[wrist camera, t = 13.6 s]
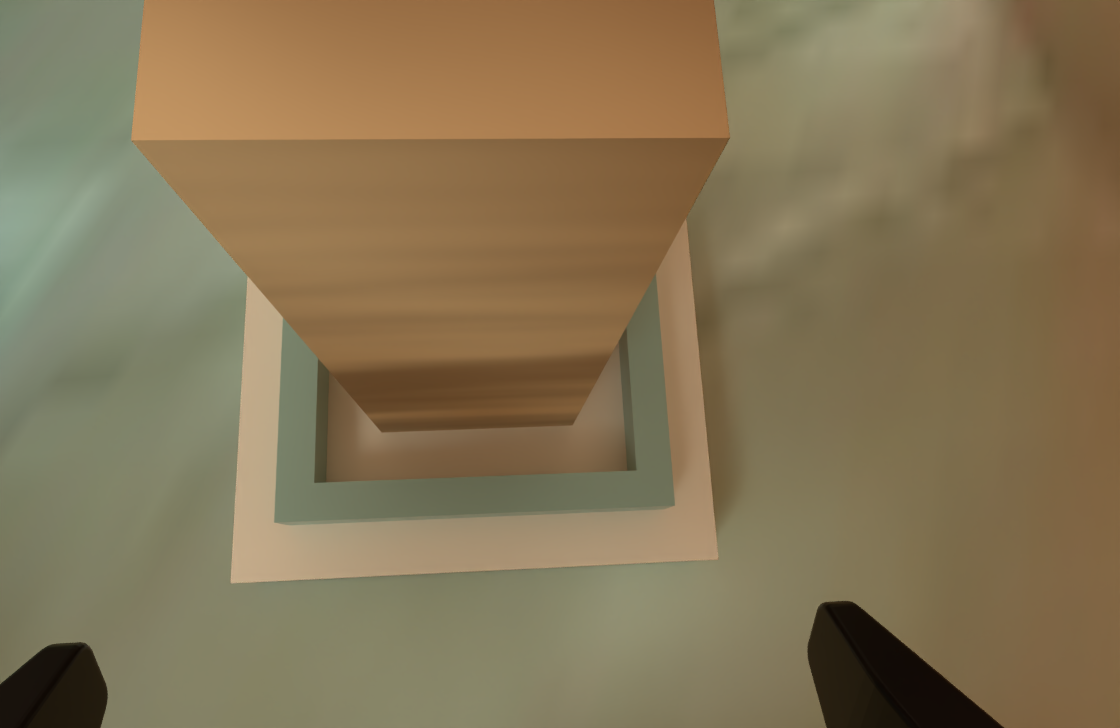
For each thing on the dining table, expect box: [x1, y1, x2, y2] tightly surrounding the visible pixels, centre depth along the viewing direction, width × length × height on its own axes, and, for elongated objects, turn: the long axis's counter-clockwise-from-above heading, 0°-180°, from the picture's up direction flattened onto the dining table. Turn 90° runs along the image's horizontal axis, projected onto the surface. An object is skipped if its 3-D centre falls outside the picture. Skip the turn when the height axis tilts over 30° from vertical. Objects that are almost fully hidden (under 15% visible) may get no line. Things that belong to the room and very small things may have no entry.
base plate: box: [231, 219, 718, 583], centre depth 19 cm, size 11×11×3 cm
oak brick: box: [131, 0, 730, 433], centre depth 13 cm, size 4×4×13 cm
